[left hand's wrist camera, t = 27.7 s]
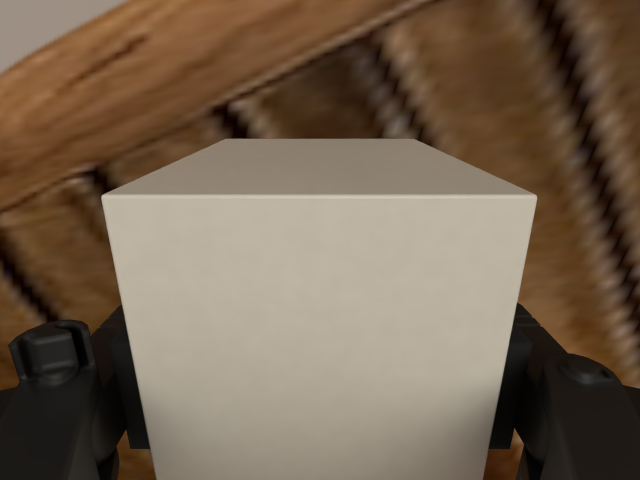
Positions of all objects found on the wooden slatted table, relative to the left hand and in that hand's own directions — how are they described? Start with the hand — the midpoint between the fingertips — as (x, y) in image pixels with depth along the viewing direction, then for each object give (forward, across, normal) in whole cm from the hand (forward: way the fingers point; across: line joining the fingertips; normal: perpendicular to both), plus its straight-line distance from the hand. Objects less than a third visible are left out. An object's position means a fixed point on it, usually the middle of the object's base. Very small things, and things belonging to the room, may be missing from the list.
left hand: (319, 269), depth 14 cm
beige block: (+2, 0, 0) cm, 2 cm away
